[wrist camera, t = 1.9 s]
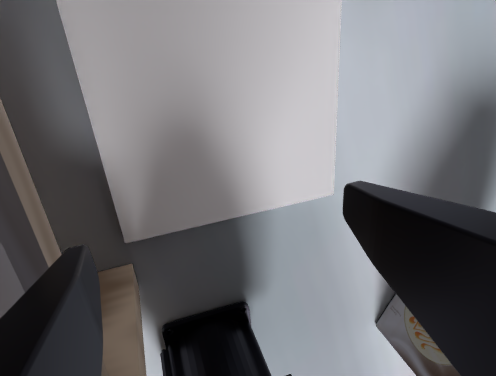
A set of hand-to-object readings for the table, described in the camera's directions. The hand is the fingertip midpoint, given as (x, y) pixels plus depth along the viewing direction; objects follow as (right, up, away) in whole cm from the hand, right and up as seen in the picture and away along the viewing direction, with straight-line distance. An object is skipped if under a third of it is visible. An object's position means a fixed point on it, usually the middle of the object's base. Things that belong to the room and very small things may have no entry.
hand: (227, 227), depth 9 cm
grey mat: (-1, +8, +11) cm, 14 cm away
